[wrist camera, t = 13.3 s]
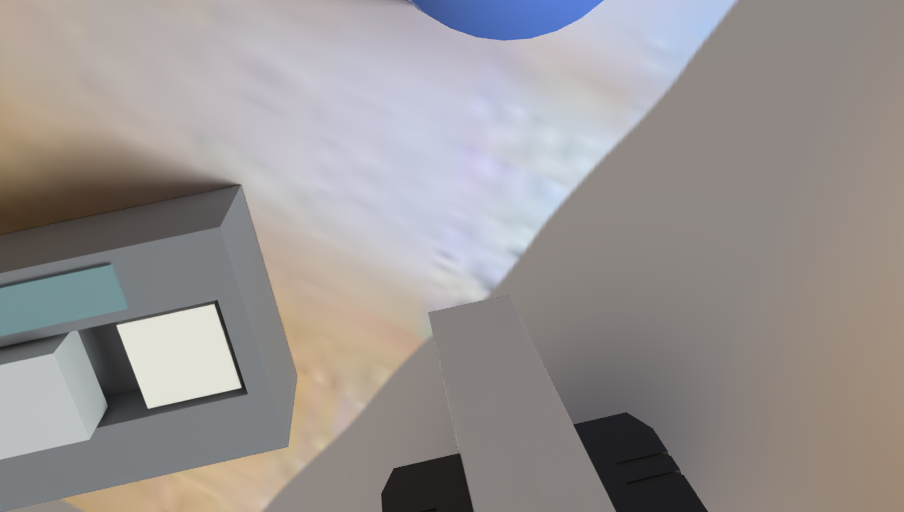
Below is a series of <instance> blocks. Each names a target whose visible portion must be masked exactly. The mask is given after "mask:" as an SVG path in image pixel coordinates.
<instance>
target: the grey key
mask: <svg viewBox="0 0 904 512" xmlns="http://www.w3.org/2000/svg"><path fill="white" fill-rule="evenodd" d="M107 407H108V405H107V403H106V400H105V398H104V395H103V393H102V390H101V388H100V385H99V383H98V380H97V378H96V375H95V373H94V370H93V368H92V365H91V363H90V360H89V358H88V355H87V353H86V350H85V348H84V346H83V343H82V341H81V338H80V336H79V333H78V331H77V330H76V331H72V332H67V333H63V334H58V335H53V336H49V337H44V338H39V339H35V340H30V341H25V342H21V343H16V344H12V345H7V346H2V347H0V460H1V459H5V458H10V457H14V456H19V455H23V454H28V453H32V452H36V451H41V450H45V449H50V448H54V447H59V446H63V445H68V444H72V443H77V442H81V441H86V440H90V438H91V436H92V434H93V432H94V431H95V429H96V427H97V425H98V423H99V422H100V420H101V418H102V416H103V414H104V413H105V411H106V409H107Z"/></svg>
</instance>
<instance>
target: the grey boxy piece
mask: <svg viewBox="0 0 904 512" xmlns="http://www.w3.org/2000/svg"><path fill="white" fill-rule="evenodd" d="M215 300H218V303H219V306H220V309H221V312H222V315H223V318H224V322H225V325H226V328H227V331H228V334H229V337H230V340H231V343H232V346H233V349H234V353H235V356H236V359H237V362H238V365H239V368H240V371H241V374H242V377H243V384H242V388H239V389H234V390H230V391H225V392H221V393H216V394H212V395H207V396H203V397H198V398H194V399H189V400H185V401H180V402H176V403H171V404H167V405H162V406H158V407H153V408H149V409H148V407H147V405H146V402H145V400H144V397H143V394H142V392H141V389H140V386H139V384H138V381H137V379H136V376H135V373H134V371H133V368H132V365H131V363H130V360H129V358H128V355H127V352H126V350H125V347H124V344H123V342H122V339H121V337H120V334H119V331H118V329H117V326H116V325H117V323H118V322H119V321H123V320H127V319H132V318H137V317H141V316H146V315H150V314H155V313H160V312H164V311H169V310H174V309H178V308H183V307H188V306H192V305H197V304H201V303H206V302H211V301H215ZM76 330H77V331H78V333H79V336H80V338H81V341H82V343H83V346H84V348H85V350H86V353H87V355H88V358H89V360H90V363H91V365H92V368H93V370H94V373H95V375H96V378H97V380H98V383H99V385H100V388H101V390H102V393H103V395H104V398H105V400H106V403H107V405H108V407H107V409H106V411H105V413H104V414H103V416H102V418H101V420H100V422H99V423H98V425H97V427H96V429H95V431H94V432H93V434H92V436H91V438H90V440H86V441H81V442H77V443H72V444H68V445H63V446H59V447H54V448H50V449H45V450H41V451H36V452H32V453H28V454H23V455H19V456H14V457H10V458H5V459H1V460H0V512H3V511H8V510H12V509H16V508H21V507H26V506H30V505H35V504H39V503H43V502H48V501H52V500H57V499H61V498H65V497H70V496H74V495H79V494H83V493H87V492H92V491H96V490H101V489H105V488H109V487H114V486H118V485H123V484H127V483H131V482H136V481H140V480H145V479H149V478H153V477H158V476H162V475H167V474H171V473H175V472H180V471H184V470H189V469H193V468H197V467H202V466H206V465H211V464H215V463H219V462H224V461H228V460H233V459H237V458H242V457H246V456H250V455H255V454H259V453H264V452H268V451H272V450H277V449H281V448H286V447H288V444H289V436H290V429H291V421H292V413H293V405H294V398H295V390H296V382H297V373H296V370H295V366H294V363H293V359H292V356H291V352H290V349H289V346H288V342H287V339H286V335H285V332H284V329H283V325H282V322H281V318H280V315H279V311H278V308H277V305H276V301H275V298H274V294H273V291H272V288H271V284H270V281H269V277H268V274H267V270H266V267H265V264H264V260H263V257H262V253H261V250H260V247H259V243H258V240H257V236H256V233H255V229H254V226H253V223H252V219H251V216H250V212H249V209H248V206H247V202H246V199H245V195H244V192H243V188H242V185H237V186H233V187H228V188H223V189H218V190H214V191H209V192H204V193H199V194H194V195H190V196H185V197H180V198H175V199H170V200H166V201H161V202H156V203H151V204H146V205H142V206H137V207H132V208H127V209H122V210H118V211H113V212H108V213H103V214H98V215H94V216H89V217H84V218H79V219H74V220H70V221H65V222H60V223H55V224H50V225H46V226H41V227H36V228H31V229H26V230H22V231H17V232H12V233H7V234H2V235H0V347H2V346H7V345H12V344H16V343H21V342H25V341H30V340H35V339H39V338H44V337H49V336H53V335H58V334H63V333H67V332H72V331H76Z"/></svg>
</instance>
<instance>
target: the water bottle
mask: <svg viewBox="0 0 904 512" xmlns="http://www.w3.org/2000/svg"><path fill="white" fill-rule="evenodd" d="M407 1H409V2H410V3H412V4H413V5H414V6H415V7H416V8H417V9H419V10H420V11H422V12H424V13H425V14H427V15H429V16H430V17H432V18H434V19H435V20H437V21H439V22H440V23H442V24H444V25H446V26H448V27H449V28H452V29H455V30H458V31H460V32H463V33H466V34H469V35H472V36H475V37H480V38H488V39H496V40H516V39H528V38H533V37H537V36H540V35H544V34H547V33H550V32H554V31H557V30H559V29H561V28H563V27H565V26H567V25H569V24H571V23H572V22H574V21H576V20H578V19H580V18H582V17H583V16H584V15H586V14H587V13H588V12H589V11H591V10H592V9H593V8H594V7H596V6H597V5H598V4H599V3H601V2H602V1H603V0H407Z"/></svg>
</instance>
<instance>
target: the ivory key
mask: <svg viewBox="0 0 904 512" xmlns="http://www.w3.org/2000/svg"><path fill="white" fill-rule="evenodd" d="M116 326H117V329H118V331H119V334H120V337H121V339H122V342H123V344H124V347H125V350H126V352H127V355H128V358H129V360H130V363H131V365H132V368H133V371H134V373H135V376H136V379H137V381H138V384H139V386H140V389H141V392H142V394H143V397H144V400H145V402H146V405H147V407H148V409H149V408H153V407H158V406H162V405H167V404H171V403H176V402H180V401H185V400H189V399H194V398H198V397H203V396H207V395H212V394H216V393H221V392H225V391H230V390H234V389H239V388H242V384H243V377H242V374H241V371H240V368H239V365H238V362H237V359H236V356H235V353H234V349H233V346H232V343H231V340H230V337H229V334H228V331H227V328H226V325H225V322H224V318H223V315H222V312H221V309H220V306H219V303H218V300H215V301H211V302H206V303H201V304H197V305H192V306H188V307H183V308H178V309H174V310H169V311H164V312H160V313H155V314H150V315H146V316H141V317H137V318H132V319H127V320H123V321H119V322H118V323H117V325H116Z"/></svg>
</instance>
